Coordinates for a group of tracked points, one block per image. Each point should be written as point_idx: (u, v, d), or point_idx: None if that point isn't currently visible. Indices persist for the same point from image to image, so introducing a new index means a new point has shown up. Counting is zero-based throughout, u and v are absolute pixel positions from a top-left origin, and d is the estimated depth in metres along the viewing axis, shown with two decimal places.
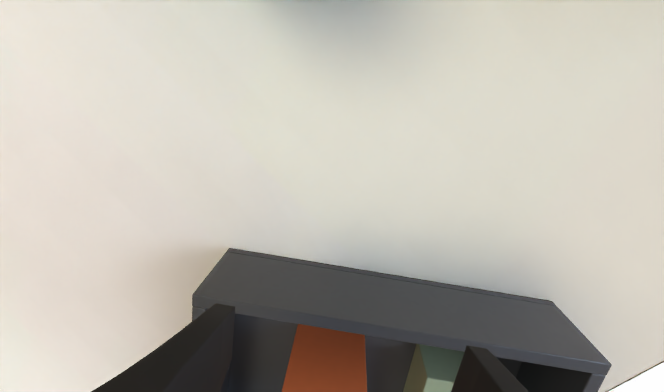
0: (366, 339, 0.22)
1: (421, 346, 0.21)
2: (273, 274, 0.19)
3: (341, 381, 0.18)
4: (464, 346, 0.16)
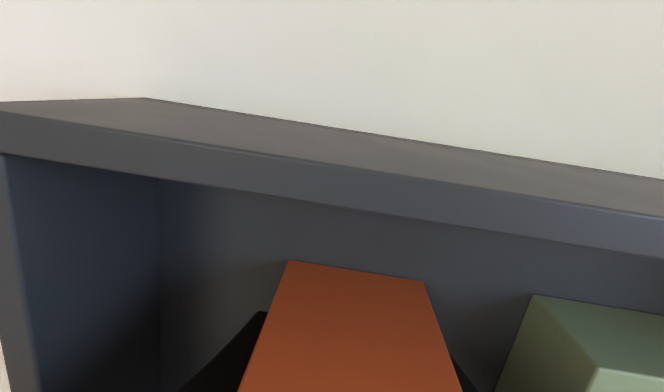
0: None
1: (547, 304, 0.10)
2: (227, 120, 0.08)
3: (394, 376, 0.07)
4: None
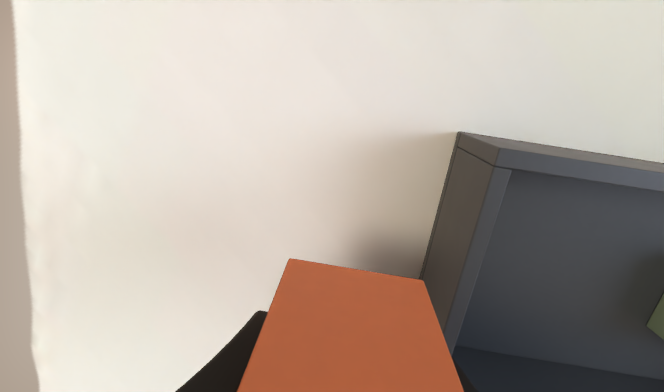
0: (618, 250, 0.17)
1: None
2: (548, 148, 0.14)
3: (395, 373, 0.07)
4: None
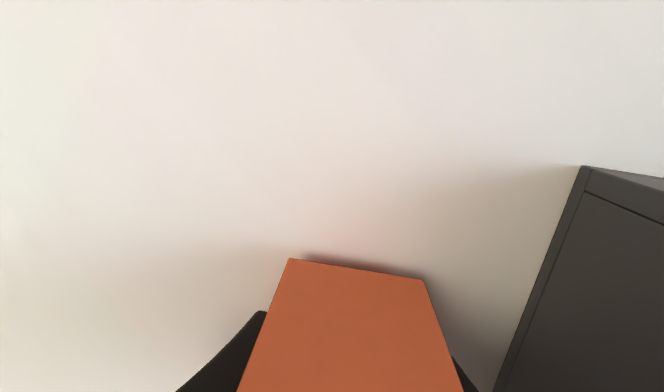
0: None
1: None
2: None
3: (395, 374, 0.07)
4: None
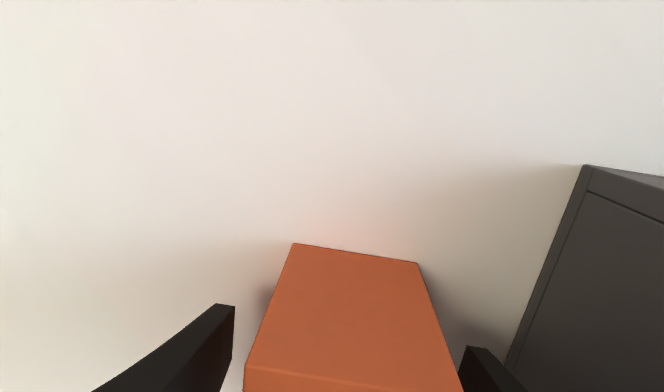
0: None
1: None
2: None
3: (389, 338, 0.08)
4: None
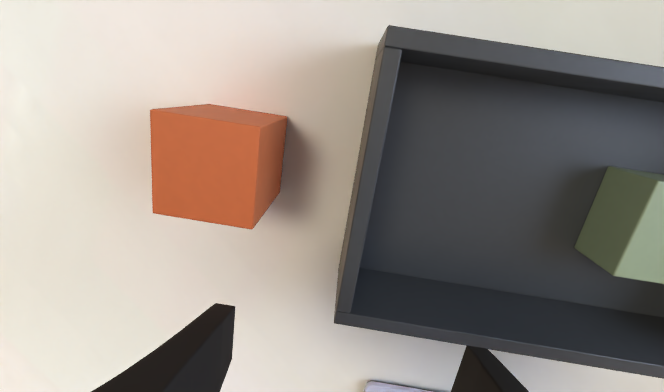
0: (541, 167, 0.17)
1: (619, 168, 0.17)
2: None
3: (237, 118, 0.14)
4: None
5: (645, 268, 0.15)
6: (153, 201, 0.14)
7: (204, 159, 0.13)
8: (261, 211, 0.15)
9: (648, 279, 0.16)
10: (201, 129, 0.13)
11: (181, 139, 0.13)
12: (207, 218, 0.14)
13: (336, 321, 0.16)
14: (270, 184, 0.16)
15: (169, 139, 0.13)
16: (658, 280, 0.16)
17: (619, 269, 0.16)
